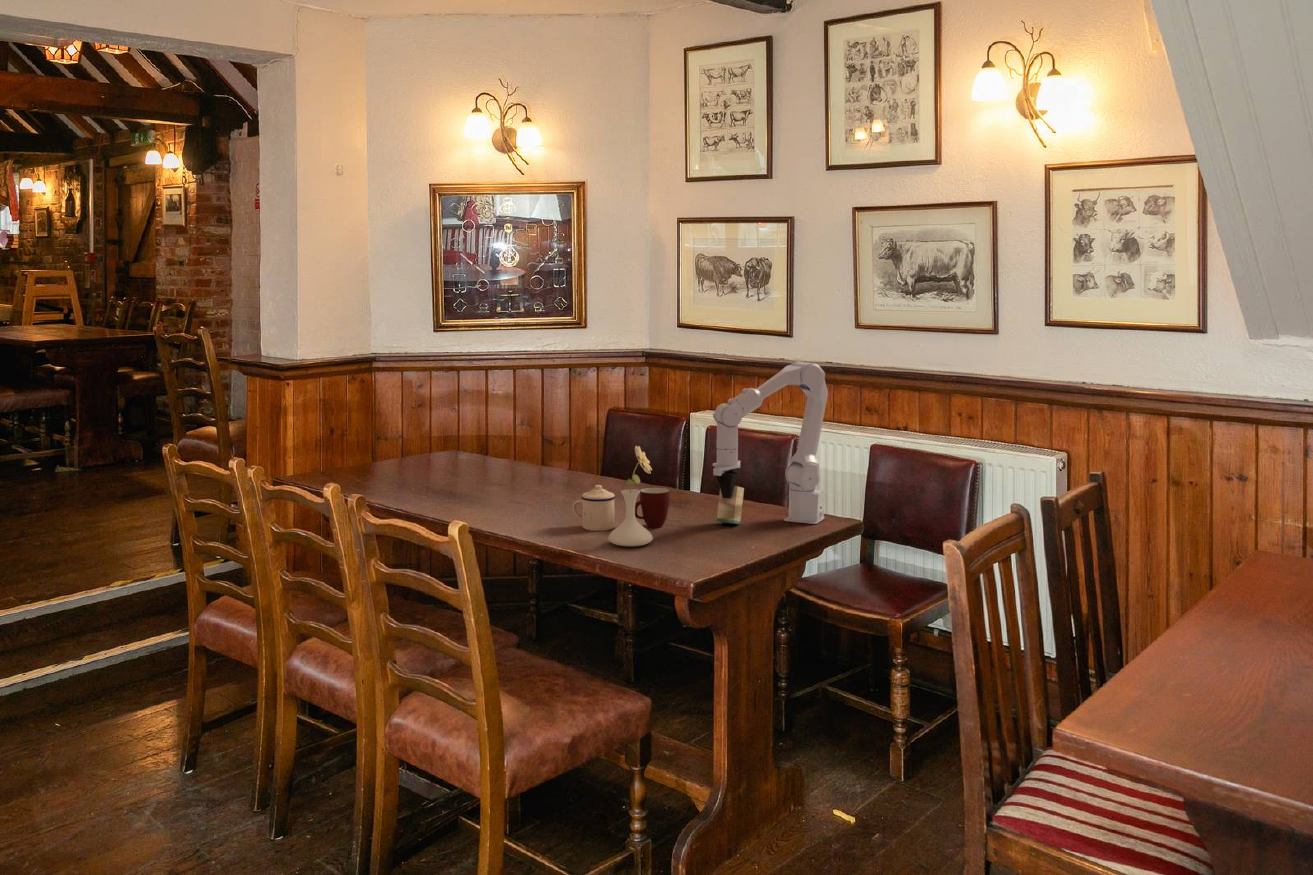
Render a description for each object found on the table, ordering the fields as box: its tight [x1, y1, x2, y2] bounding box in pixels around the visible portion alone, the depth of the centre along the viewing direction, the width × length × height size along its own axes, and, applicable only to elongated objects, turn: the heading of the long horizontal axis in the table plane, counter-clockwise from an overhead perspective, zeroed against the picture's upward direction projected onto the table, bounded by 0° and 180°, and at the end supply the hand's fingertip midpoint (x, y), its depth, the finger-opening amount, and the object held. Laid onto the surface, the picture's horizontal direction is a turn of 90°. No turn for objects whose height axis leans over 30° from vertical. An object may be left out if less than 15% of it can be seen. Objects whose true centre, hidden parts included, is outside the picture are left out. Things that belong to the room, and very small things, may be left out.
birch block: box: [716, 485, 745, 525], centre depth 299 cm, size 5×5×10 cm
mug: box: [635, 487, 671, 529], centre depth 296 cm, size 11×8×10 cm
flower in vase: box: [608, 445, 654, 547], centre depth 276 cm, size 13×11×25 cm
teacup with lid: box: [572, 484, 616, 532], centre depth 296 cm, size 12×9×12 cm
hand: (726, 497), depth 297 cm, fingers closed
